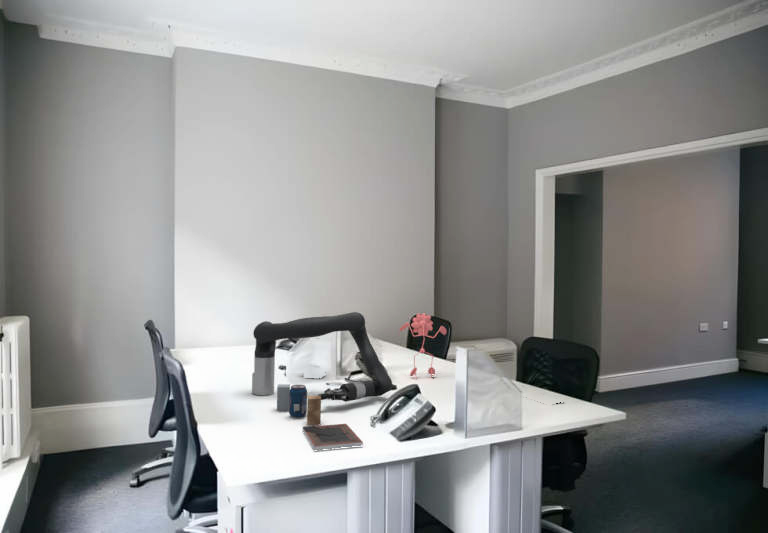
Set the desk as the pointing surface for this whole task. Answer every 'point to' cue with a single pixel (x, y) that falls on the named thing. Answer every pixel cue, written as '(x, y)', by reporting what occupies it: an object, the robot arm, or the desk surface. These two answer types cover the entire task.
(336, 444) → the picture frame
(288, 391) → the slate block
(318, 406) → the walnut block
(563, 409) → the desk surface
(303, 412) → the soda can
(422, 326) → the pink toy figure
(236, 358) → the desk surface
